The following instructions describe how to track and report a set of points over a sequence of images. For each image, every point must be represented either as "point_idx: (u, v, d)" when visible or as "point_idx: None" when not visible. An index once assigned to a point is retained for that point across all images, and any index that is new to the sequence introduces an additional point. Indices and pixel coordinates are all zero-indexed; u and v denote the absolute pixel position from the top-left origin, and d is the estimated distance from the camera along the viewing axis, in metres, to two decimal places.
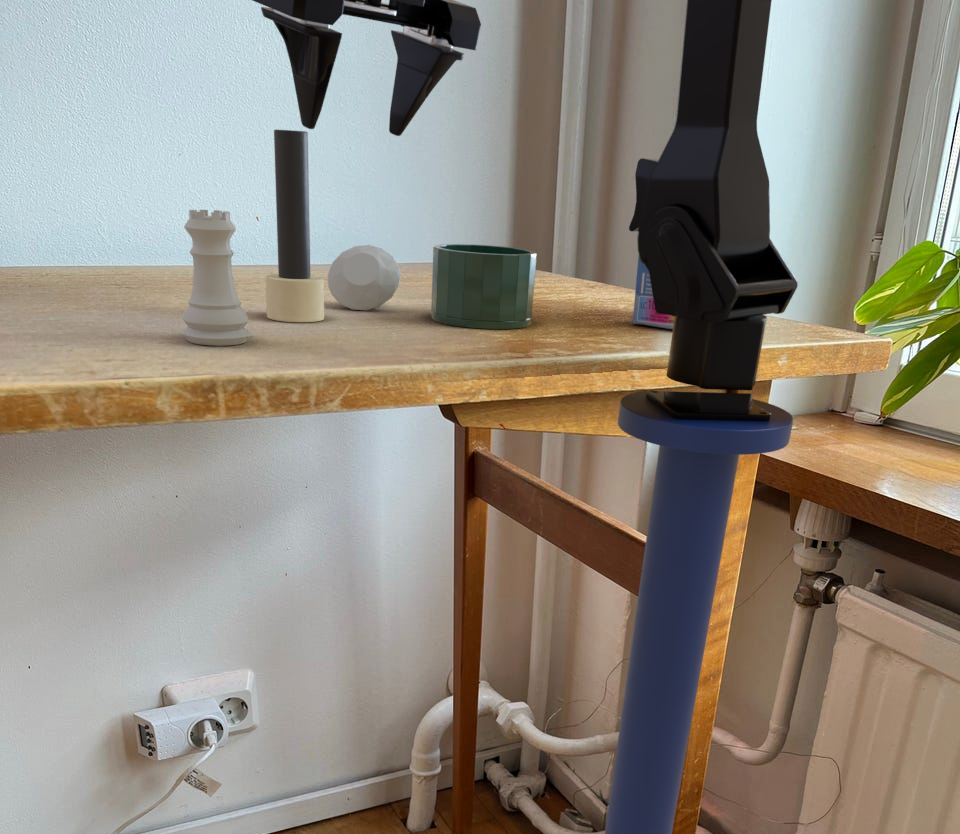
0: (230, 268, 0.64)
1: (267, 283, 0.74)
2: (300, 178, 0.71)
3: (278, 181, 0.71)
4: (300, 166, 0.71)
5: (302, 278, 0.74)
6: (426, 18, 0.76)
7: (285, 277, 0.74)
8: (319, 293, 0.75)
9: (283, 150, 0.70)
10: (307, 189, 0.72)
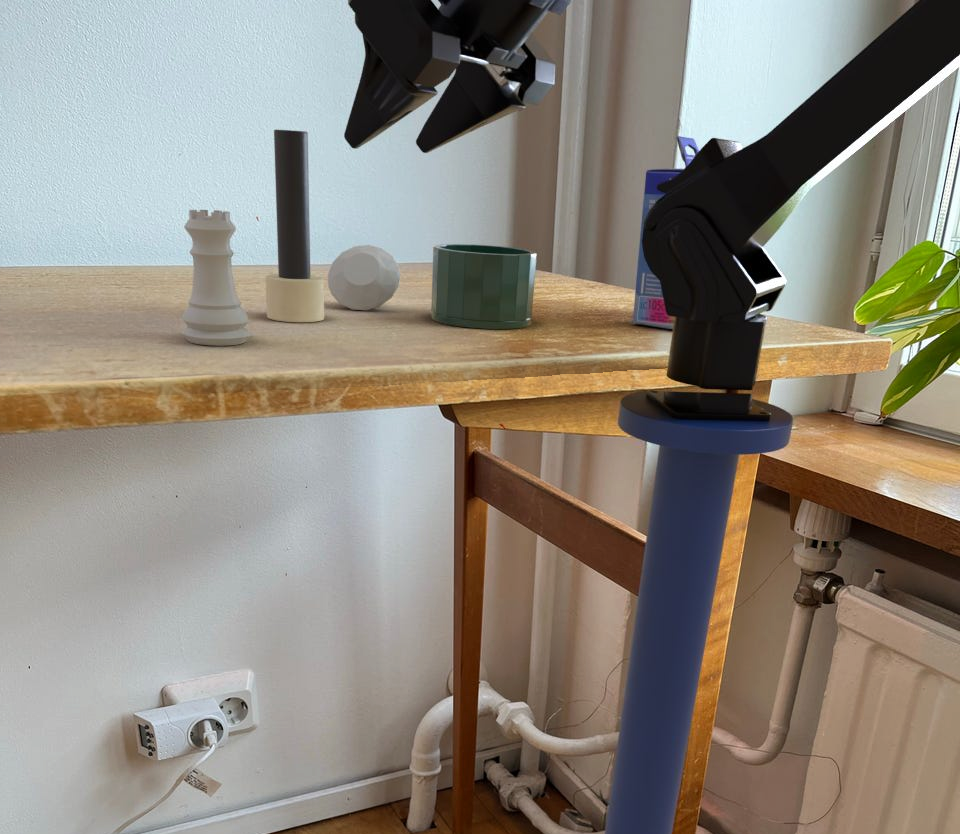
0: (230, 268, 0.64)
1: (267, 283, 0.74)
2: (300, 178, 0.71)
3: (278, 181, 0.71)
4: (300, 166, 0.71)
5: (302, 278, 0.74)
6: None
7: (285, 277, 0.74)
8: (319, 293, 0.75)
9: (283, 150, 0.70)
10: (307, 189, 0.72)
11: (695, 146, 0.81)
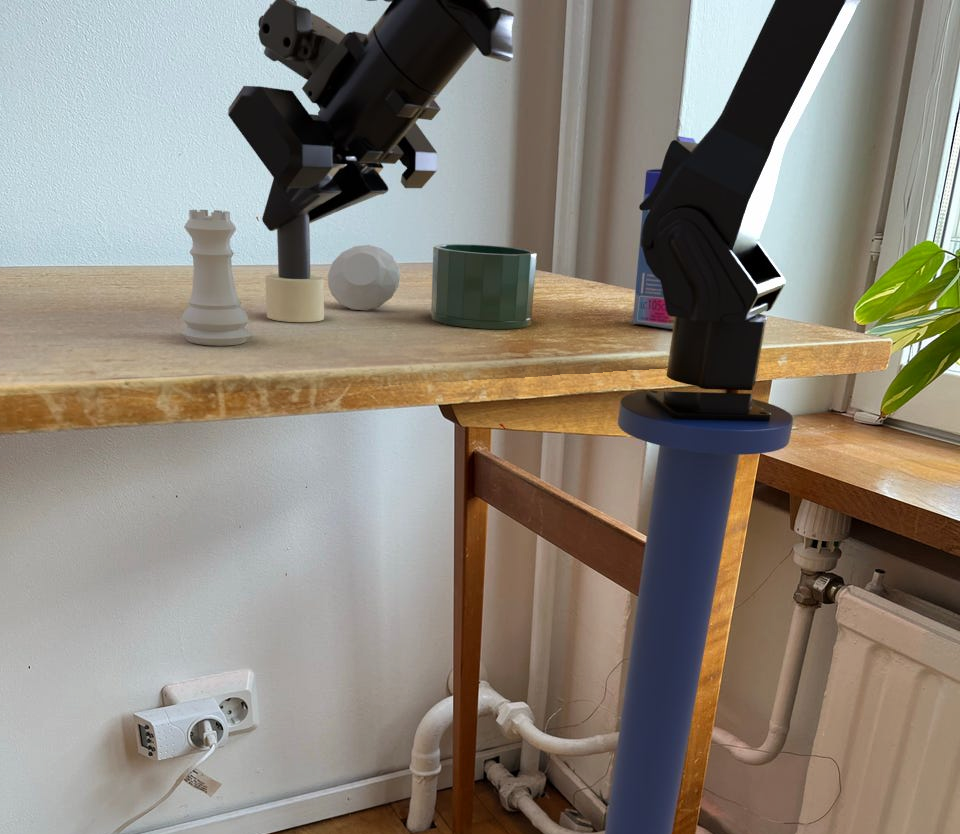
0: (230, 268, 0.64)
1: (267, 283, 0.74)
2: None
3: None
4: None
5: (302, 278, 0.74)
6: None
7: (285, 277, 0.74)
8: (319, 293, 0.75)
9: None
10: None
11: None
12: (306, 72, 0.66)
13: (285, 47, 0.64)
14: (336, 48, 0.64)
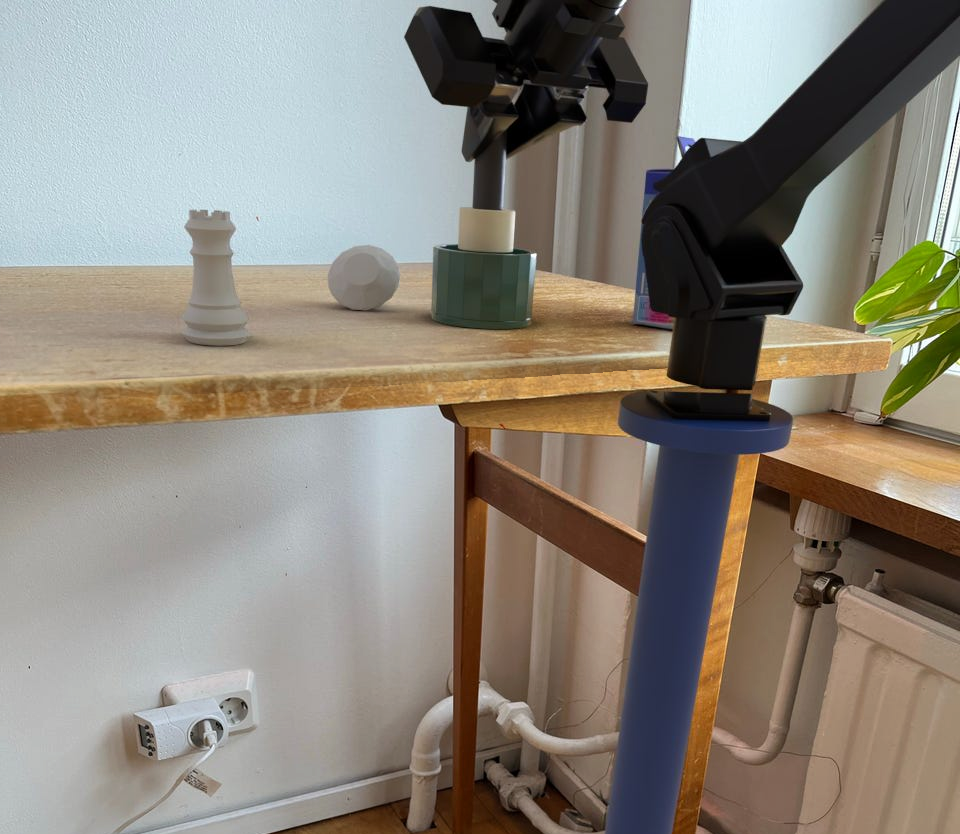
0: (230, 268, 0.64)
1: (459, 213, 0.77)
2: None
3: None
4: None
5: (490, 209, 0.76)
6: (593, 78, 0.72)
7: (475, 207, 0.76)
8: (505, 224, 0.76)
9: None
10: None
11: None
12: None
13: None
14: None
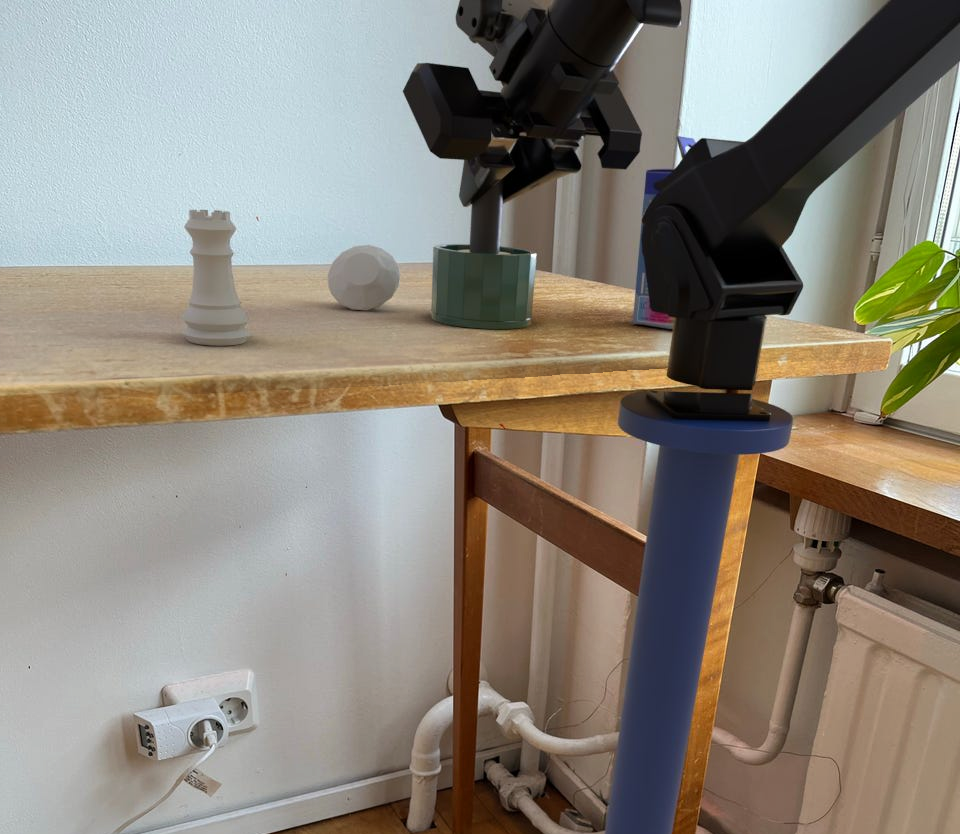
0: (230, 268, 0.64)
1: None
2: None
3: None
4: None
5: None
6: (588, 127, 0.74)
7: (472, 251, 0.77)
8: None
9: None
10: None
11: None
12: (496, 51, 0.69)
13: (473, 27, 0.67)
14: (518, 25, 0.66)
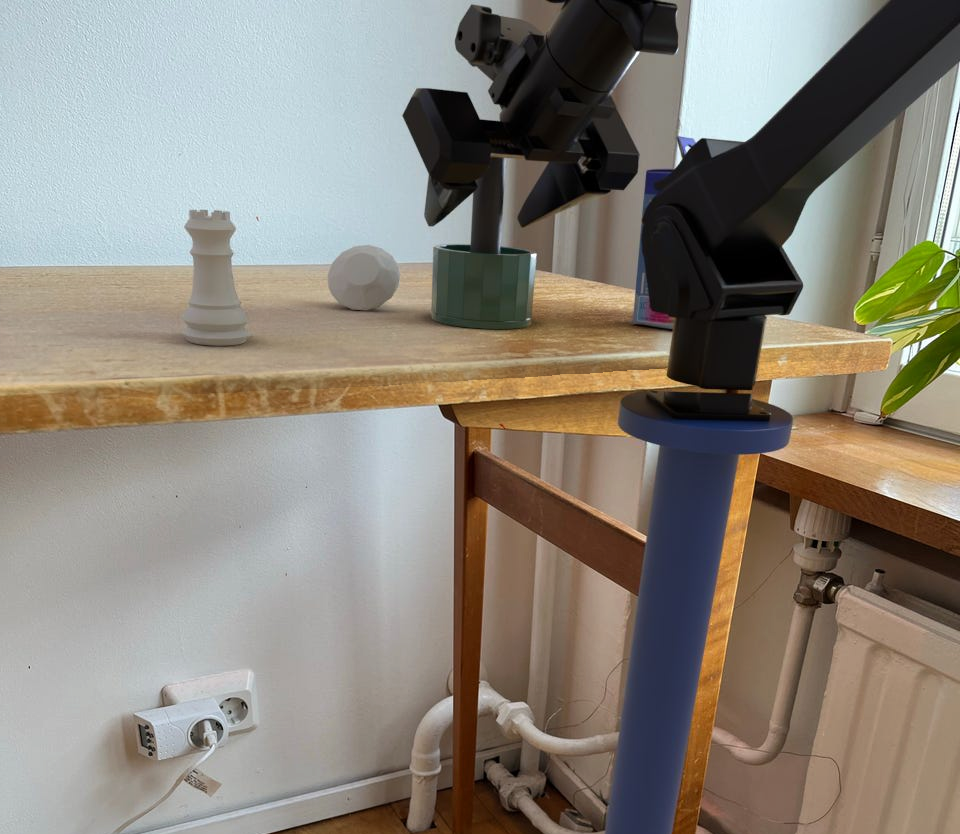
0: (230, 268, 0.64)
1: None
2: (493, 180, 0.75)
3: None
4: (493, 169, 0.74)
5: None
6: (586, 148, 0.74)
7: None
8: None
9: None
10: (500, 191, 0.75)
11: None
12: (494, 75, 0.69)
13: (472, 52, 0.68)
14: (516, 51, 0.67)
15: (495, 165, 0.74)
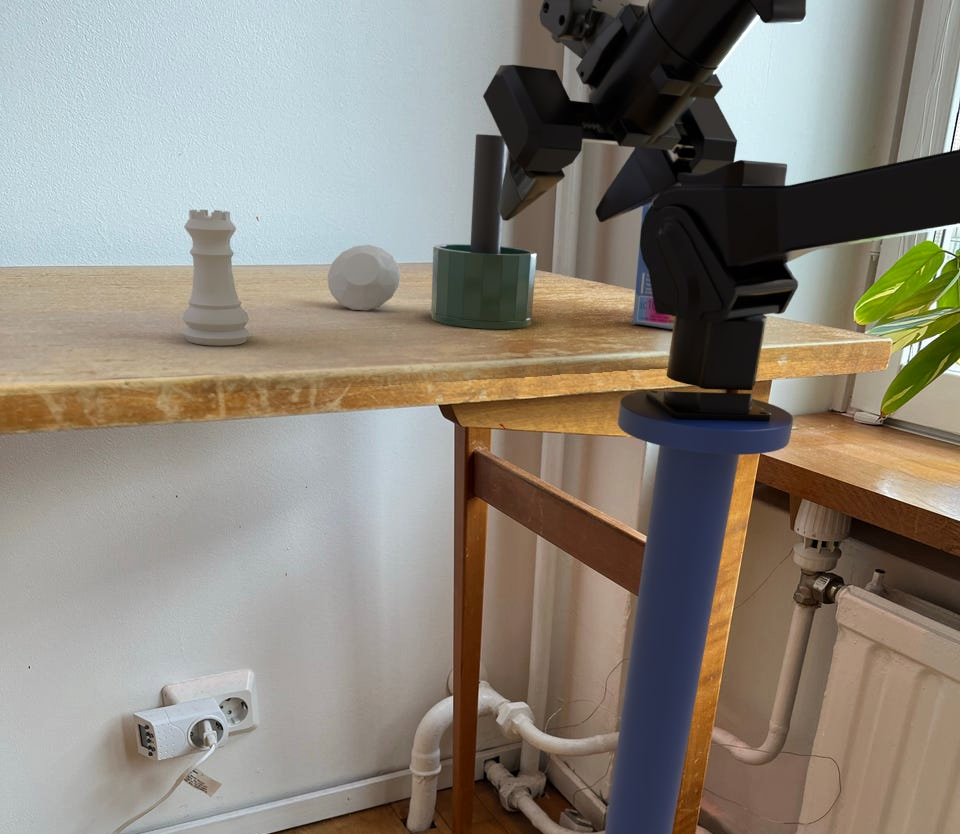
0: (230, 268, 0.64)
1: None
2: (493, 180, 0.75)
3: (474, 183, 0.76)
4: (493, 169, 0.74)
5: None
6: (678, 134, 0.67)
7: None
8: None
9: (479, 153, 0.74)
10: (500, 191, 0.75)
11: None
12: (583, 52, 0.62)
13: (560, 25, 0.61)
14: (611, 23, 0.60)
15: (495, 165, 0.74)
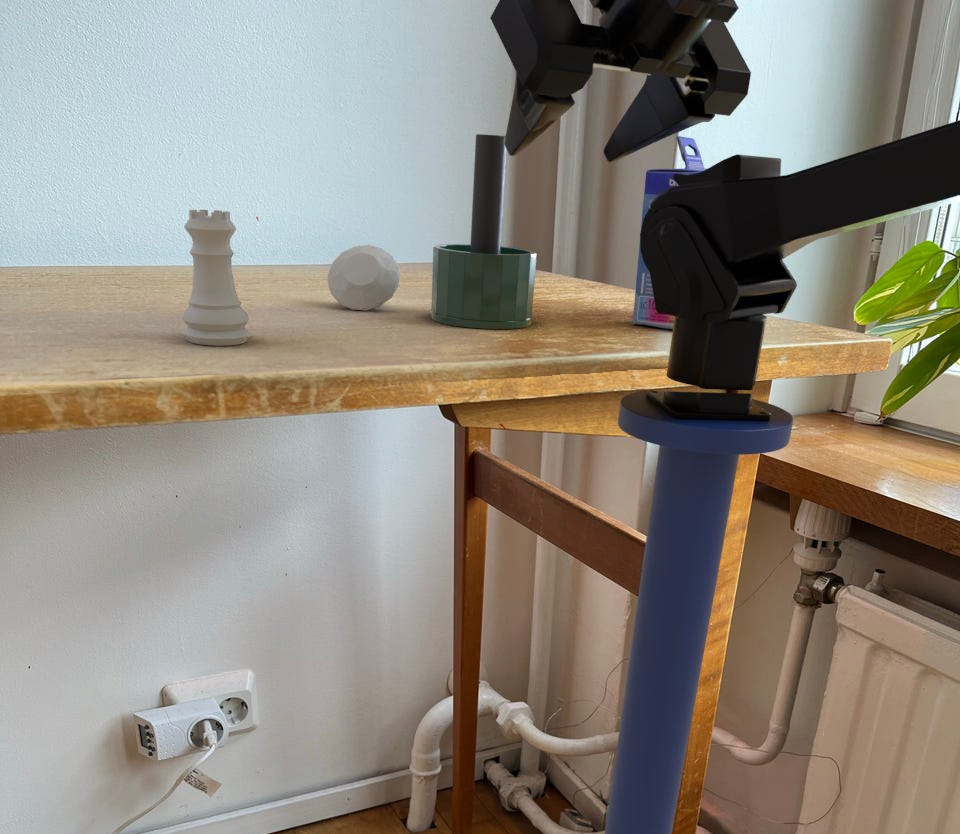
0: (230, 268, 0.64)
1: None
2: (493, 180, 0.75)
3: (474, 183, 0.76)
4: (493, 169, 0.74)
5: None
6: None
7: None
8: None
9: (479, 153, 0.74)
10: (500, 191, 0.75)
11: (695, 146, 0.81)
12: None
13: None
14: None
15: (495, 165, 0.74)
